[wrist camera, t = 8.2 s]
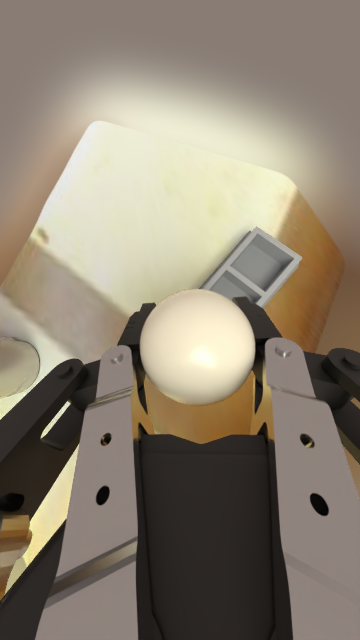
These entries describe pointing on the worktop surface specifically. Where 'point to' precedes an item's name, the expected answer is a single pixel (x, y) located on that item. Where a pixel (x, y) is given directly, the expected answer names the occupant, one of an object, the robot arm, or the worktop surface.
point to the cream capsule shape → (197, 347)
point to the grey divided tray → (254, 269)
